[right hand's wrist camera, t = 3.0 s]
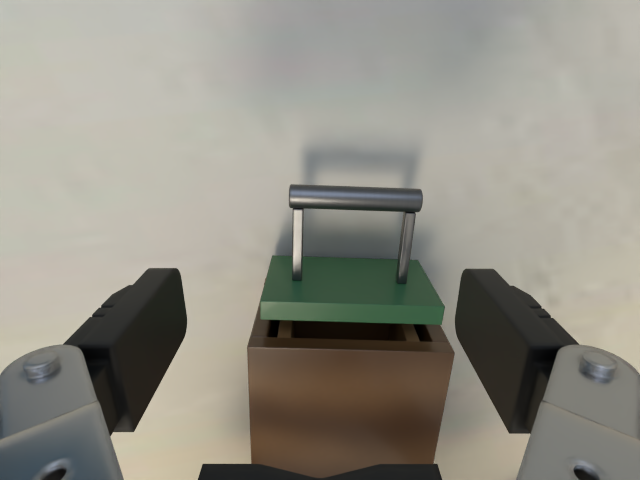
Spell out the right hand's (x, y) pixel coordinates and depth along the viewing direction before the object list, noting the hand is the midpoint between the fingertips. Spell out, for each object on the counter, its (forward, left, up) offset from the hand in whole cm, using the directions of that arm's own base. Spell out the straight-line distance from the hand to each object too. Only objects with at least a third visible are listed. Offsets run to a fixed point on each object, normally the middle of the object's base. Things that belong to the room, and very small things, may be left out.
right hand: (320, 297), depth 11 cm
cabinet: (-17, -7, -16) cm, 24 cm away
